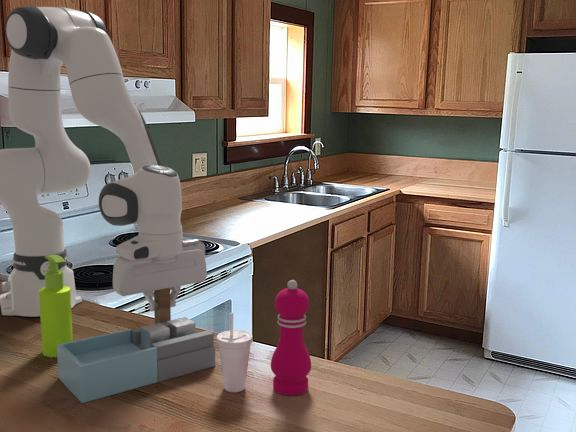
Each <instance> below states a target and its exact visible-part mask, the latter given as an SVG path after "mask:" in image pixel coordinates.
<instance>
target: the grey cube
mask: <svg viewBox="0 0 576 432" xmlns="http://www.w3.org/2000/svg"><path fill="white" fill-rule="evenodd" d="M167 327H168V328H169V329H170V339H174V338H178V337H182V336H186V335H191V334H195V333H196V322H194V321H193V320H191V319H190V318H188V317H186V316H185V317H181V318H177V319H171V320H170V321H167Z"/></svg>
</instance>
